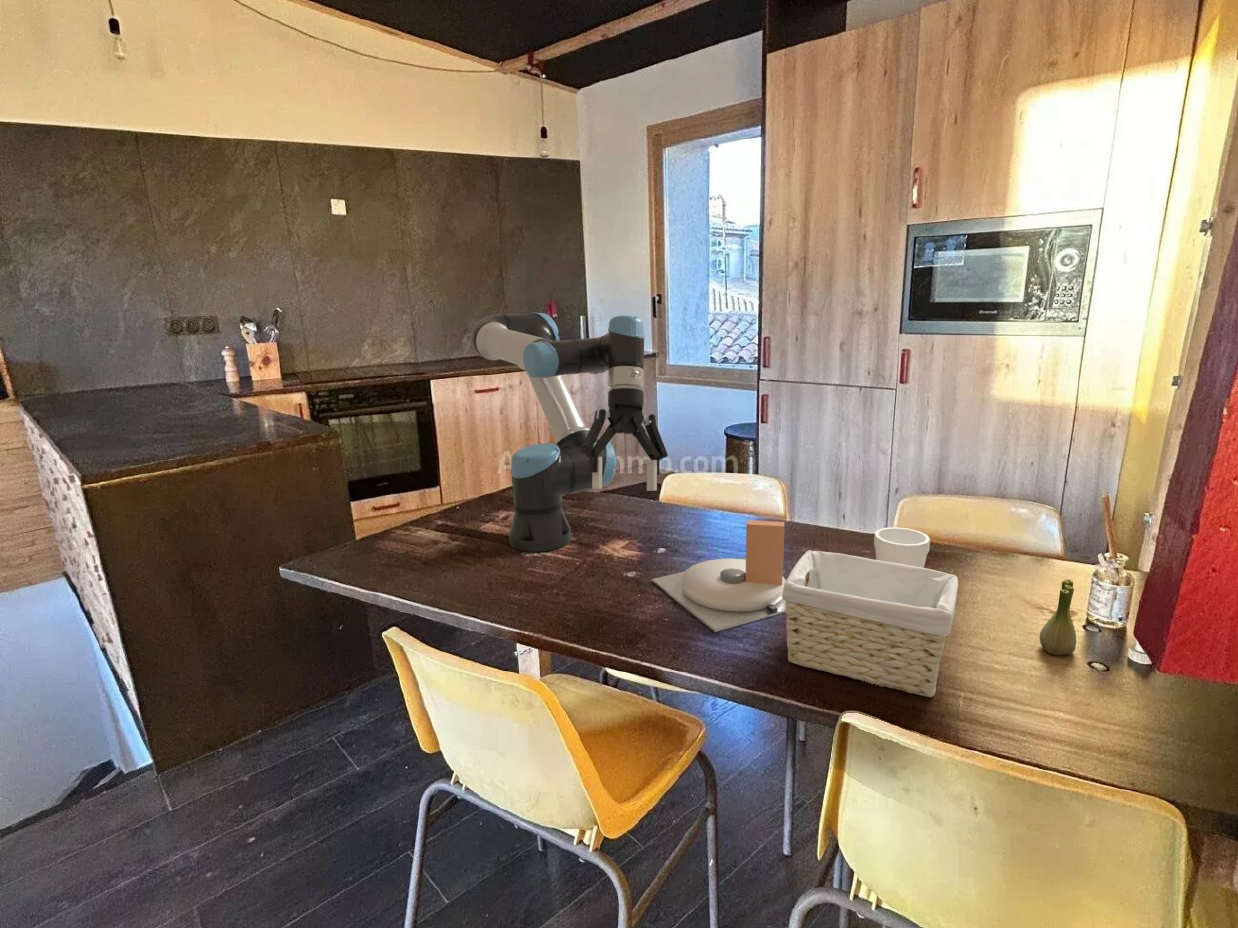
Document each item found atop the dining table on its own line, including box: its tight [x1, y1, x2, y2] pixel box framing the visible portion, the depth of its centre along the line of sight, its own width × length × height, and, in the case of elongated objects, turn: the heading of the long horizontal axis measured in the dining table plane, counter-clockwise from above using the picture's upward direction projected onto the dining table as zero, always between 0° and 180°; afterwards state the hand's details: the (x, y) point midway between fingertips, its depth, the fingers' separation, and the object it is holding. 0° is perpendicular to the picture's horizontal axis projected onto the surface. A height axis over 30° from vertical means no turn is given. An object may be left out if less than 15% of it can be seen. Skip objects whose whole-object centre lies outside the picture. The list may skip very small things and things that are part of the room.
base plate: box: [651, 556, 787, 633], centre depth 131 cm, size 24×24×1 cm
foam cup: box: [873, 526, 931, 568], centre depth 123 cm, size 10×9×13 cm
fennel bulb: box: [1039, 578, 1077, 656], centre depth 105 cm, size 6×5×12 cm
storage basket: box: [782, 549, 959, 698], centre depth 103 cm, size 24×16×15 cm
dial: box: [683, 519, 786, 611], centre depth 129 cm, size 20×20×14 cm
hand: (625, 490), depth 138 cm, fingers open, 13 cm apart
